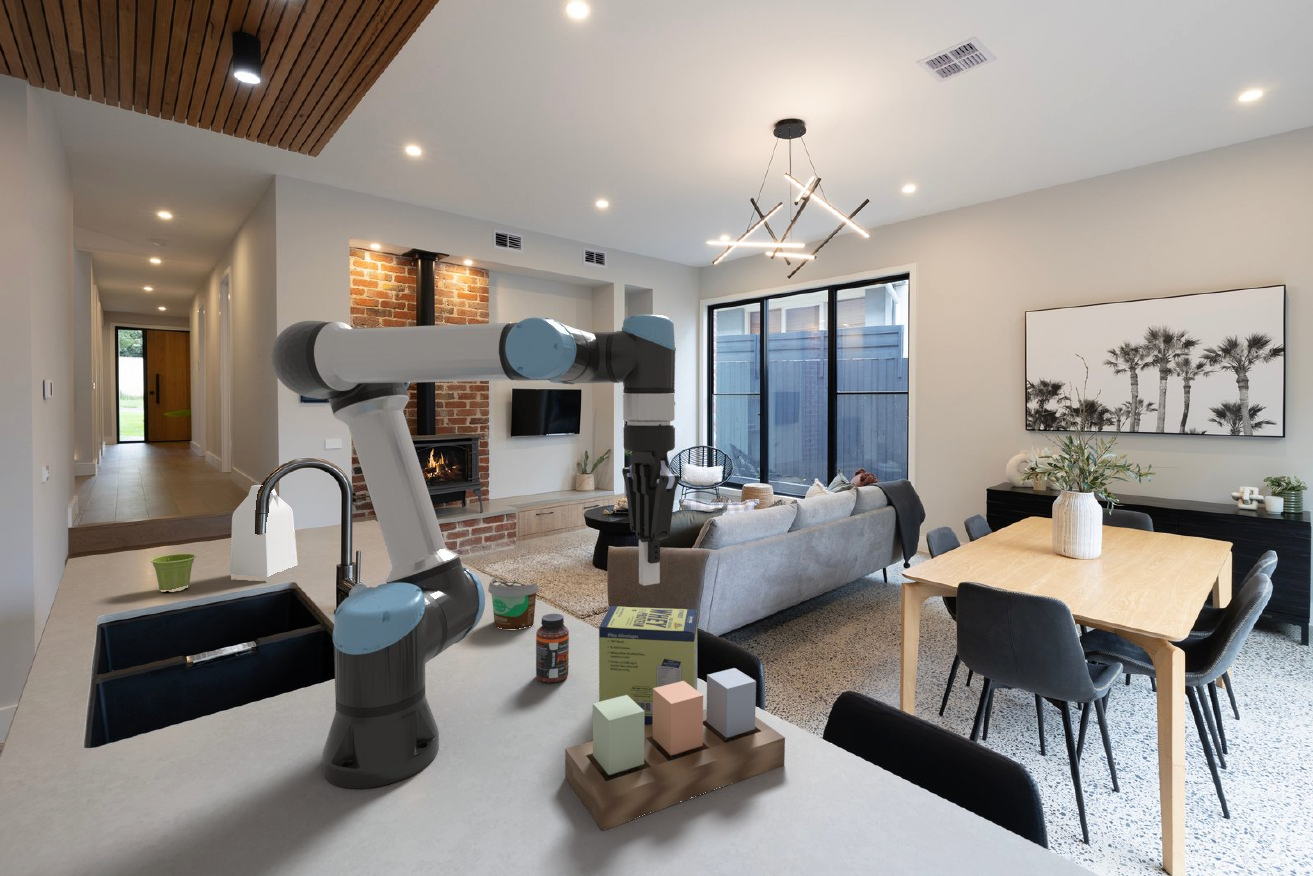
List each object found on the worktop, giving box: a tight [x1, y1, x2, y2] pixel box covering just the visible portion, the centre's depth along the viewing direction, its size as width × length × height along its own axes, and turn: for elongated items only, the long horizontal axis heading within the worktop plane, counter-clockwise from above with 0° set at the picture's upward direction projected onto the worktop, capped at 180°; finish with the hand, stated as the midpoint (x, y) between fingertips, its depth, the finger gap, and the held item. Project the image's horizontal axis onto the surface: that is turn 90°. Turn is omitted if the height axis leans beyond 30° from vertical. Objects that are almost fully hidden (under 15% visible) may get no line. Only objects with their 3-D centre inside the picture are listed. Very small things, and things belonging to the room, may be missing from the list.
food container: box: [487, 576, 540, 630], centre depth 139 cm, size 12×6×10 cm, turn 68°
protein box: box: [598, 605, 698, 726], centre depth 102 cm, size 10×16×16 cm
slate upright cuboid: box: [706, 667, 757, 738], centre depth 89 cm, size 5×5×7 cm
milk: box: [229, 484, 299, 577], centre depth 178 cm, size 12×12×26 cm
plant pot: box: [150, 553, 197, 591], centre depth 164 cm, size 9×9×9 cm
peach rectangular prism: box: [652, 681, 704, 755], centre depth 85 cm, size 5×5×7 cm
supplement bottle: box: [535, 613, 570, 684], centre depth 114 cm, size 6×6×11 cm
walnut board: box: [564, 708, 786, 832], centre depth 85 cm, size 28×12×4 cm, turn 119°
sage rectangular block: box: [592, 695, 645, 775], centre depth 80 cm, size 5×5×7 cm
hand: (649, 582), depth 92 cm, fingers closed
